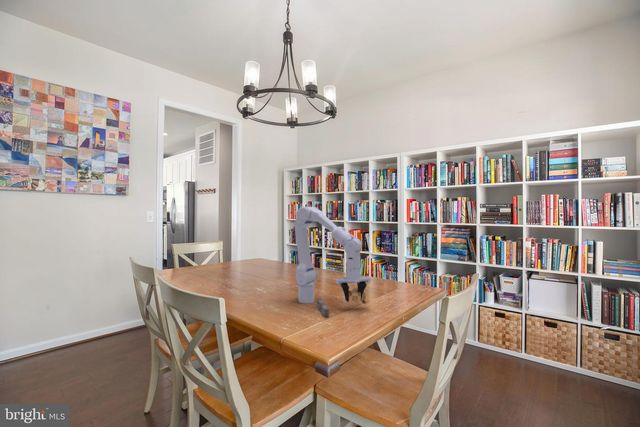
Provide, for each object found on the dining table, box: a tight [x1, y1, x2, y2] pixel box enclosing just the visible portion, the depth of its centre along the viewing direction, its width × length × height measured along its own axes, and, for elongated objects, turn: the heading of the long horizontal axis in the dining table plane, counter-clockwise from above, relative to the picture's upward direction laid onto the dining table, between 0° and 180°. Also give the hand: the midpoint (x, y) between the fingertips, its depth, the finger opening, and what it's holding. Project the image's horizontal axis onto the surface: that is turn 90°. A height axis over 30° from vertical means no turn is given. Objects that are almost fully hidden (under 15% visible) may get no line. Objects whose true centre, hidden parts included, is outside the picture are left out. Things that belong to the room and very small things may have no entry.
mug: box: [351, 286, 367, 303], centre depth 136 cm, size 8×10×10 cm
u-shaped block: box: [347, 289, 362, 305], centre depth 120 cm, size 4×5×4 cm
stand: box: [316, 298, 330, 319], centre depth 118 cm, size 18×8×4 cm, turn 13°
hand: (353, 300), depth 120 cm, fingers closed on u-shaped block, 5 cm apart
